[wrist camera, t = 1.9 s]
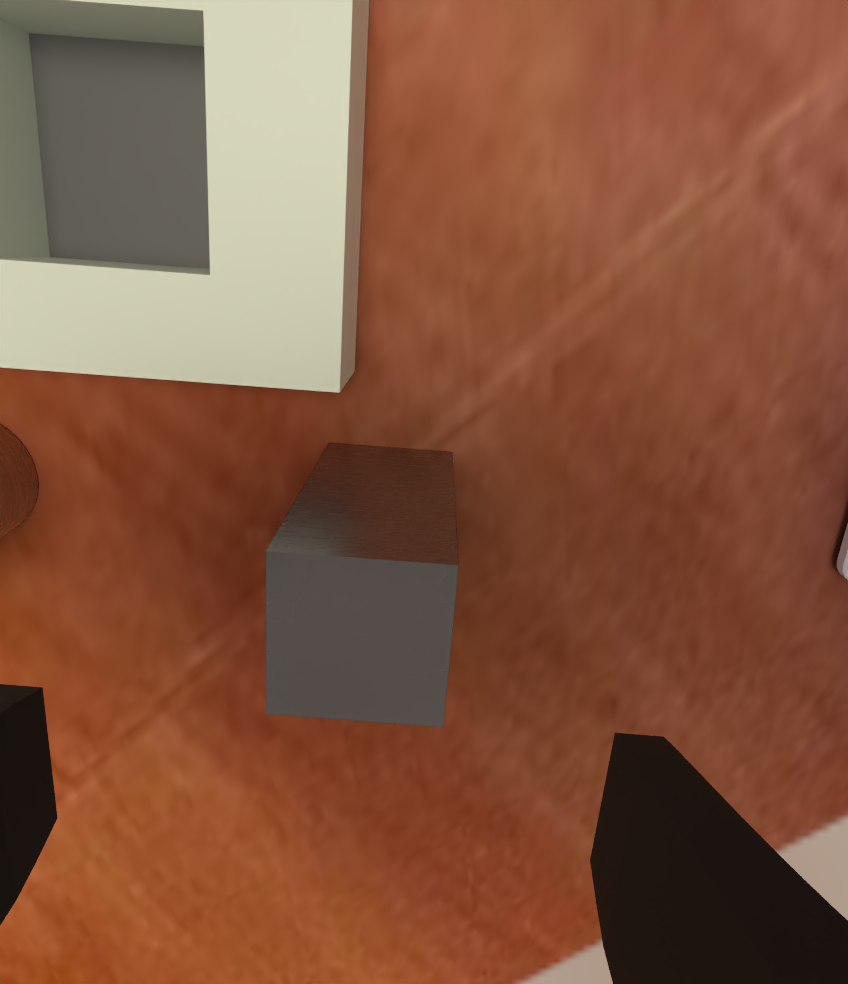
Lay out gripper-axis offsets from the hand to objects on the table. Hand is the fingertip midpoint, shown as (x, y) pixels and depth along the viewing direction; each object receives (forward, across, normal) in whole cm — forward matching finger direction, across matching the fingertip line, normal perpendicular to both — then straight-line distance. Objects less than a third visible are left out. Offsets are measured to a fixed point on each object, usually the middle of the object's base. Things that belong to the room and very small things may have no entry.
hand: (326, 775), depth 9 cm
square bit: (+10, 0, 0) cm, 10 cm away
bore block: (+10, +6, -8) cm, 14 cm away
